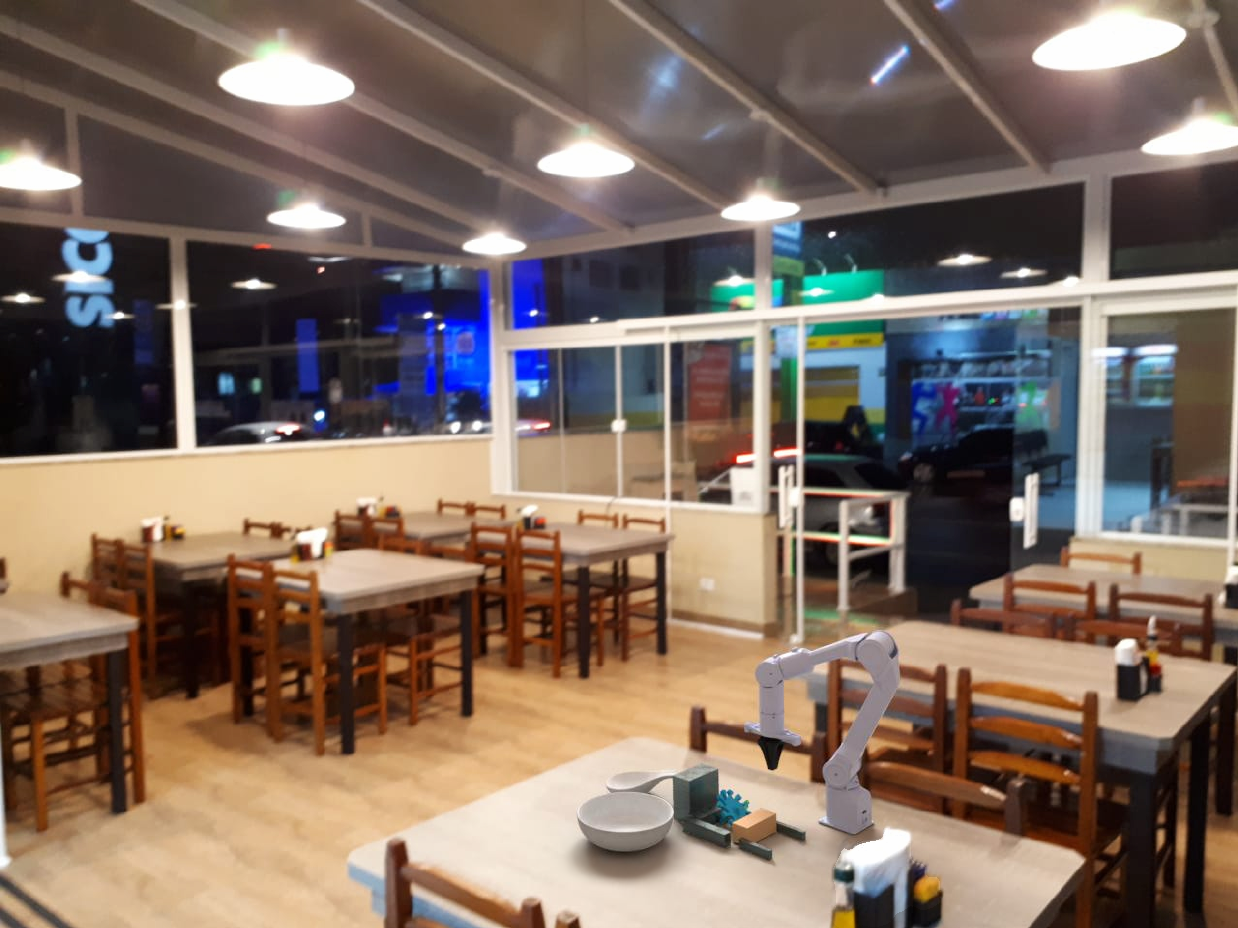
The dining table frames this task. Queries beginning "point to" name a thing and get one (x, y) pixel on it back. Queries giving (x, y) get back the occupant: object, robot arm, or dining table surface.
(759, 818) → the press ram
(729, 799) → the gear
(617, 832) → the serving bowl
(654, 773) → the spoon rest
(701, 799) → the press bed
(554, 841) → the dining table surface
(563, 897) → the dining table surface
